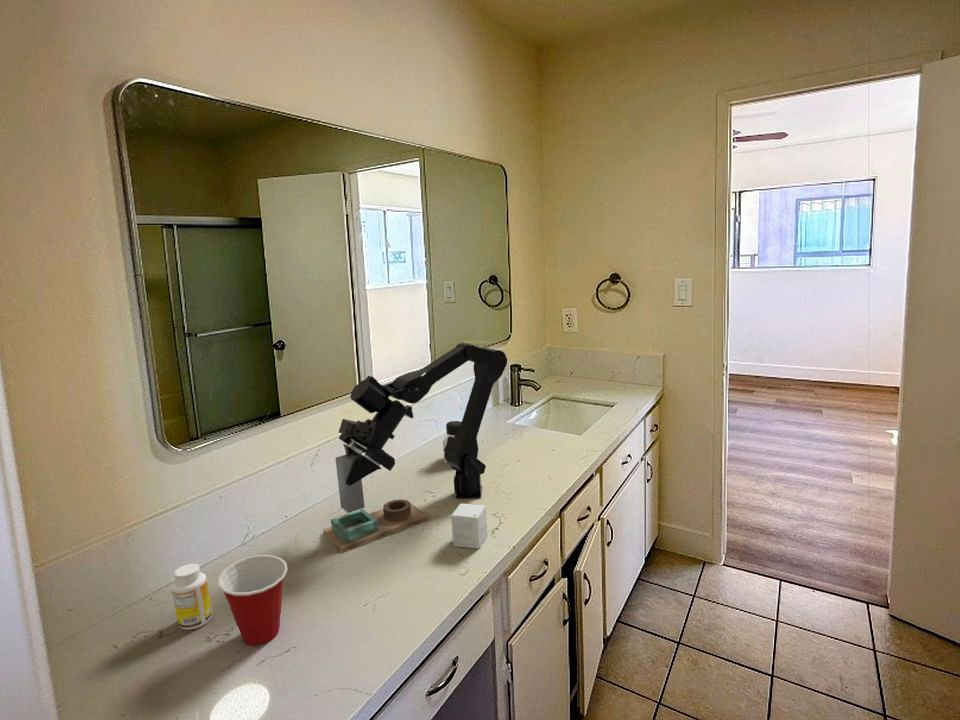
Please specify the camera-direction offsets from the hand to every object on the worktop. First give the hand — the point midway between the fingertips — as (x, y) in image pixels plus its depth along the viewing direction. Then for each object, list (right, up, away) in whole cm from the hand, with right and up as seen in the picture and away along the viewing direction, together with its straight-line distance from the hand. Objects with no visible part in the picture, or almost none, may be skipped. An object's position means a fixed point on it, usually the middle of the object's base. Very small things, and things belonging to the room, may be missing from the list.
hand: (344, 481), depth 125 cm
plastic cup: (-7, -20, -30) cm, 36 cm away
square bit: (+1, -6, +2) cm, 7 cm away
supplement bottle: (-20, -20, -25) cm, 38 cm away
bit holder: (+6, -12, +6) cm, 15 cm away
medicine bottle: (+24, -3, +46) cm, 52 cm away
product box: (+28, -13, -3) cm, 31 cm away
